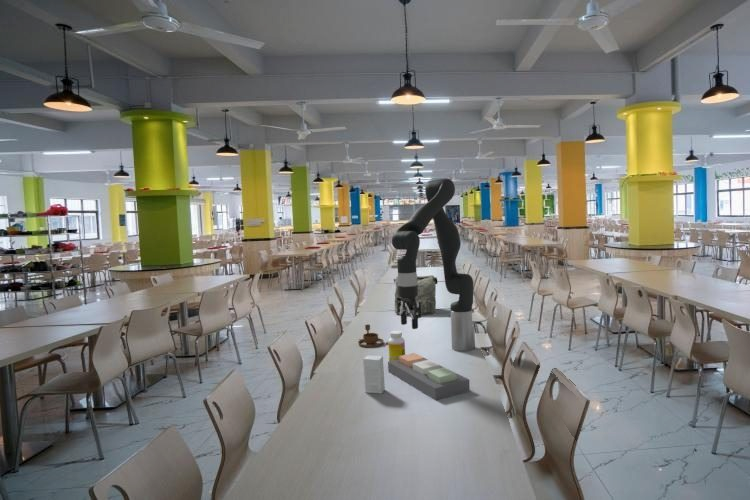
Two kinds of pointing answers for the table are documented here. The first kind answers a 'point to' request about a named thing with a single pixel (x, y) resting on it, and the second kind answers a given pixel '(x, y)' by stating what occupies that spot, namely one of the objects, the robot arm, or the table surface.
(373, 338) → the place setting
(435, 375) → the sage key
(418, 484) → the table surface
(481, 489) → the table surface
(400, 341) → the supplement bottle
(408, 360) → the terracotta key
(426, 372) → the grey key
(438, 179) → the robot arm
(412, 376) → the keypad
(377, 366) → the skincare box
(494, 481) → the table surface
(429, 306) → the lunch bag
